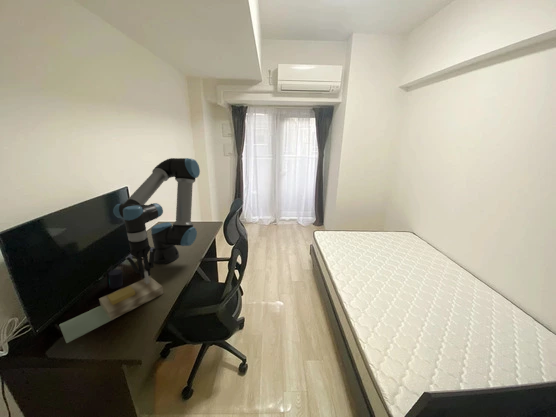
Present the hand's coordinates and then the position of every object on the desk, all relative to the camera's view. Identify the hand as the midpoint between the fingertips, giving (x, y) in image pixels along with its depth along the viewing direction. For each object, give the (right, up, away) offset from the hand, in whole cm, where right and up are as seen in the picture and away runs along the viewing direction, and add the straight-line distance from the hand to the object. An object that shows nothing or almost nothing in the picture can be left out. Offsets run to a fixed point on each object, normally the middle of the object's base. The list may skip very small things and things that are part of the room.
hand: (147, 282), depth 108 cm
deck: (-4, -7, -4) cm, 9 cm away
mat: (-15, -11, -17) cm, 26 cm away
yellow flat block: (-7, -4, -8) cm, 11 cm away
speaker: (-20, -4, +7) cm, 21 cm away
